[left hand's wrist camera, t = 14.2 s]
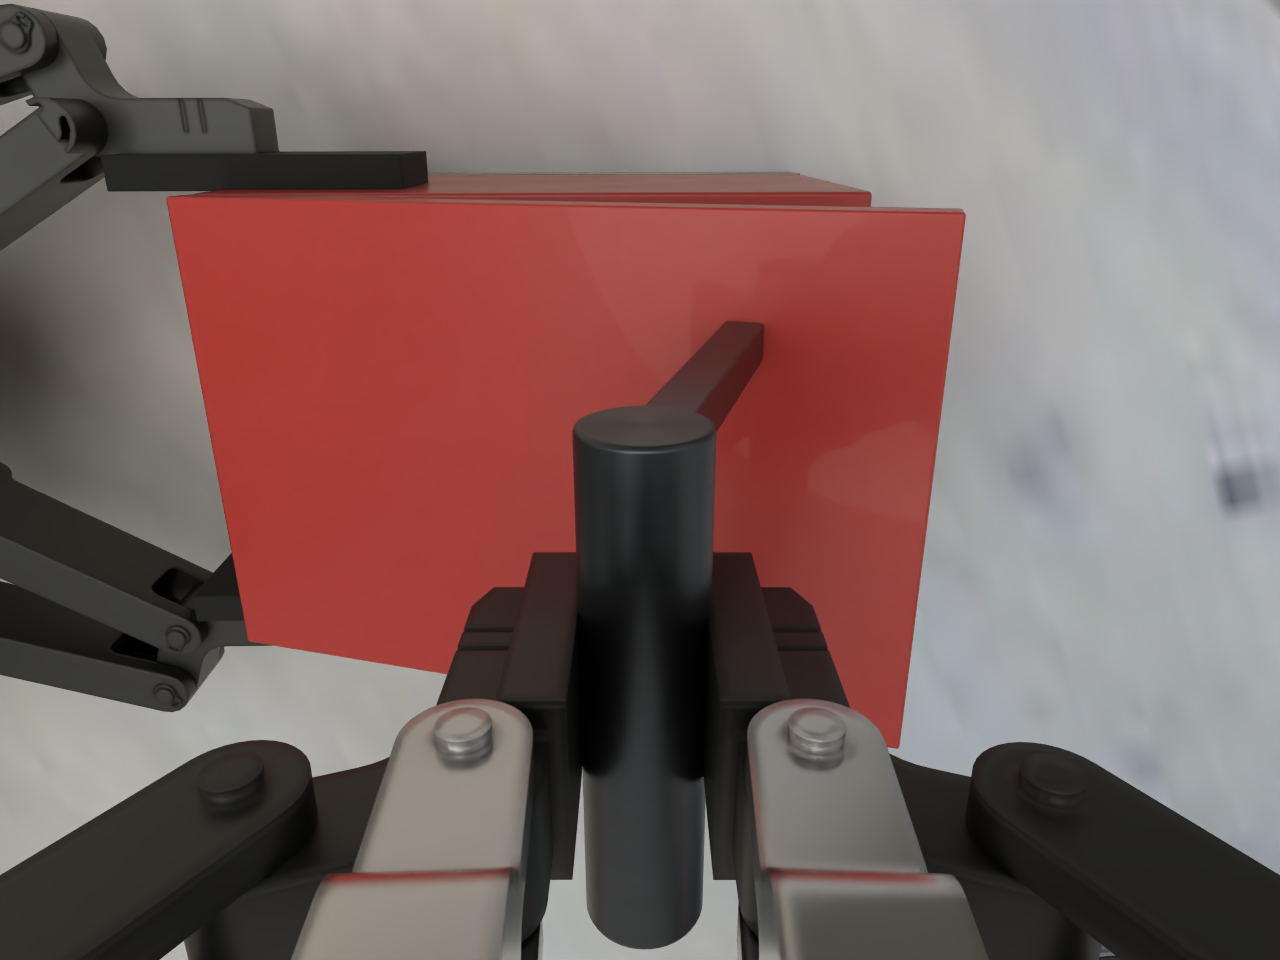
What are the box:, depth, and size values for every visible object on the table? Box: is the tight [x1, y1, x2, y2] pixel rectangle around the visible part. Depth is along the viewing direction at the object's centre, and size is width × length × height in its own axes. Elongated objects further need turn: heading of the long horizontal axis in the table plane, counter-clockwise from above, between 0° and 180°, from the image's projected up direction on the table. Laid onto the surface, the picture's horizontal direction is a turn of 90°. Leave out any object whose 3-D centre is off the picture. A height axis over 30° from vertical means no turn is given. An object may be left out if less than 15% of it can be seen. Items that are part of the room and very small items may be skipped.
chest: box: [197, 172, 872, 207], centre depth 25 cm, size 14×10×9 cm
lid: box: [167, 194, 966, 949], centre depth 15 cm, size 15×10×8 cm
